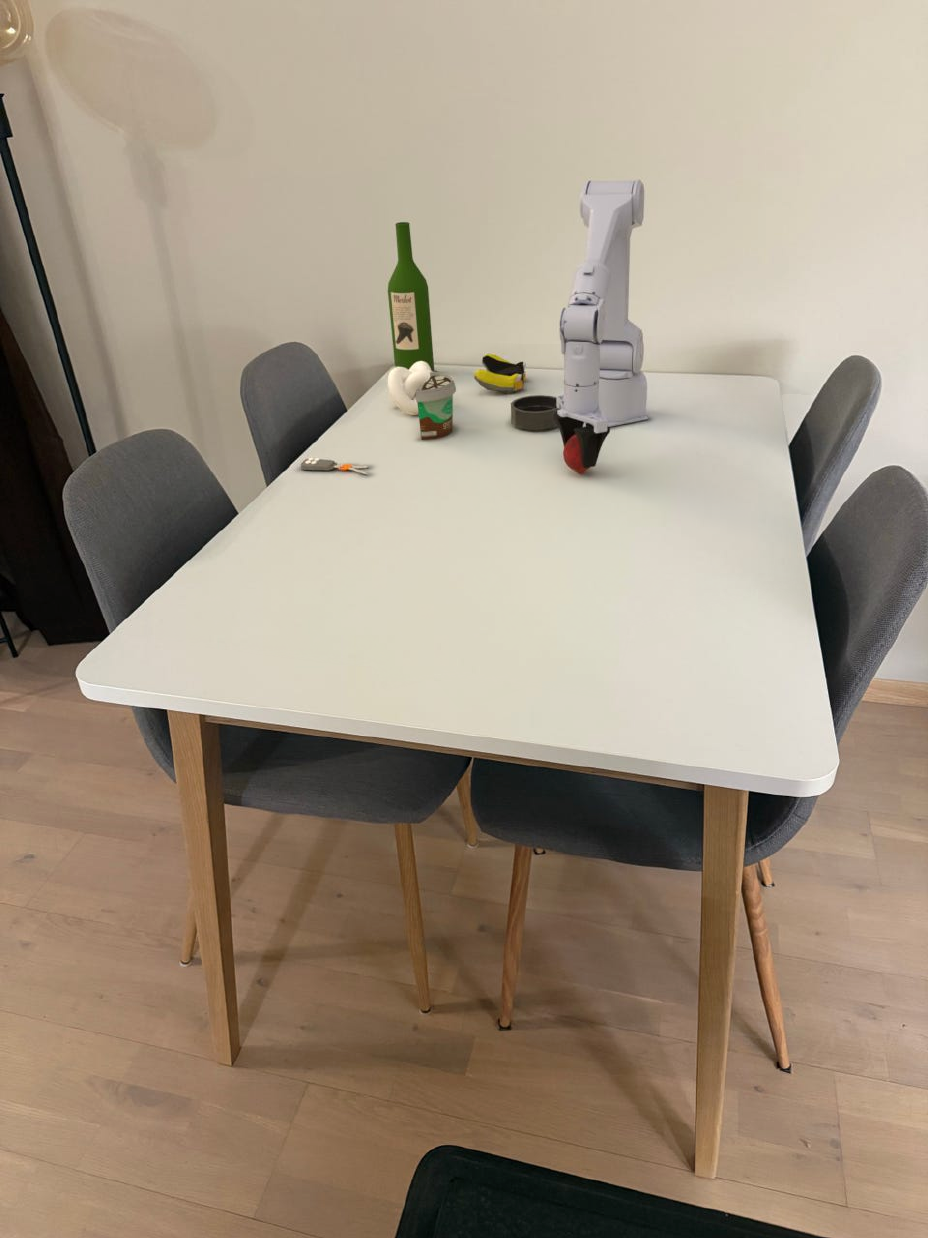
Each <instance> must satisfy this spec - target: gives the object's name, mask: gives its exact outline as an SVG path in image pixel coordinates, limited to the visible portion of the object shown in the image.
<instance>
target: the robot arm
mask: <svg viewBox="0 0 928 1238" xmlns="http://www.w3.org/2000/svg"><path fill="white" fill-rule="evenodd" d="M644 213H645V186H644V183H643V182H642V180H641V179H635V180H594V181H593V180H592V181H591V180H586V181H585V182H584V184H582V186H581V189H580V195H579V214H580V217H581V219H582V221H583V225H584V227H586V228H587V237H586V245H585V253H584V261H583V262H582V263H580V264H578V266H577V267H576V268H575V271H574V275H573V280H572V284H571V288H570V289H571V290H570V294H569V298H568V303H567V306H566V307H563V308H562V309H561V311H560V315H559V323H558V332H559V340H560V345H561V346H560V347H561V349H560V351H561V354H562V355H563V395H562V394H561V395H558V396H556V397H557V408H559V409H560V410H558V411H557V414H554V415H553V418H554V420H555V422H556V423H557V425H558V426H557V427H558V430H559V433H560V436H561V441H562V445H563V448H564V447H565V444H566V443H567V441H568V440H569V439H570V438H571V437H572V436H573V435H575V434H576V435H577V438H578V441H579V444H580V450H581V461H582V465H583V467H584V468H589V469H590V467H591V468H594V467H596V465H597V462H598V459H599V456H600V452H601V449H602V446H603V444H604V442H605V441H606V438H607V437H608V435H609V434H610V432H611V427H616V426H621V425H627V424H631V423H637V422H641V421H646V420H648V419H649V418H648V416H647V401H648V382H647V378H646V374H644V372H643V371H642V370H641V369H642V367H643V362H644V355H645V354H644V352H645V345H644V332H643V330H642V329H641V328H640V327H638V326H637V325H636V324H634V323H633V322H632V321H630V319H629V299H630V264H631V263H630V262H631V261H630V260H631V259H630V258H631V237H632V233H633V229H637V228H639V227H642V225H643V223H644V222H643V221H644ZM584 424H585V426H584Z"/></svg>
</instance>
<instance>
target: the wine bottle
mask: <svg viewBox="0 0 928 1238" xmlns="http://www.w3.org/2000/svg"><path fill="white" fill-rule="evenodd" d="M394 225H395V235H396V248H397V250H396V251H397V264H396V265H395V268H394V270H393V272H392V274H391V276H390V279H389V280H388V284H387V297H388V298H387V299H388V308H389V319H390V329H391V339H392V349H393V360H394V368H396V367H404V368H406V369H408V370H409V369H410V368H411V366H412V365H413V364H414V363H416V362H419V361H424V362H427V363H428V365H429V366H430V368H431V371H433V372H435V361H434V359H435V358H434V347H433V333H432V320H431V319H432V318H431V307H430V293H429V285H428V281H427V279H426V277H425V276H424V275H423V273H422V271H421V270H420V269H419V267H418V266H417V264H416V262H415V261H414V257H413V248H412V239H411V238H412V237H411V227H410V226H411V225H410V222H408V221H400V222H395V224H394Z"/></svg>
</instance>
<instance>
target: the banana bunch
mask: <svg viewBox="0 0 928 1238" xmlns="http://www.w3.org/2000/svg"><path fill="white" fill-rule="evenodd" d="M481 363H482V365H483V366H484V368H485V369H481V368H479V369H478V370H476V371H474V373H473V378H474V380H475V381H476V382H477V383H478V384H479V385H480V386H481V387H482V388H484V389H485V390H486V391H487V390H488V391H497V392H498V391H499V392H501V393H502V394H503V395H504V394H505V395H510V394H511V395H512V394H513V393H514V392H517V391H520V390H521V389H523V383H524V382H525V381H526V380H527V379H526V378H527V377H526V371H525V369H526V366H527V362H524V361H518V362H517V363H512V362H510V361H508V360H507V359H504V358H502V357H500V356H498V355H497V354H492V353H487V354H485V355H484V356H482V359H481Z"/></svg>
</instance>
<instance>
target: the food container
mask: <svg viewBox="0 0 928 1238" xmlns="http://www.w3.org/2000/svg"><path fill="white" fill-rule="evenodd" d="M456 392H457V387H456V383H455V381H454V380H453V377H452V376H451V375H450V374H448V373H444V372H440V371H439V372H438V371H434V372H430V379H429V380H428V381H427V382H425V383H424V385H423V387H422V389H421V390H416V402H417V404H418V413H419V414H418V421H419V422H418V423H419V430H420V439H421V441H430V440H431V441H432V440H438V439H441V438H445V437H448V436H449V435H450V434H452V433H453V429H454V428H453V424H454V423H453V422H454V421H453V420H454V418H453V417H454V415H453V413H454V412H453V411H454V394H455V393H456Z"/></svg>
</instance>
